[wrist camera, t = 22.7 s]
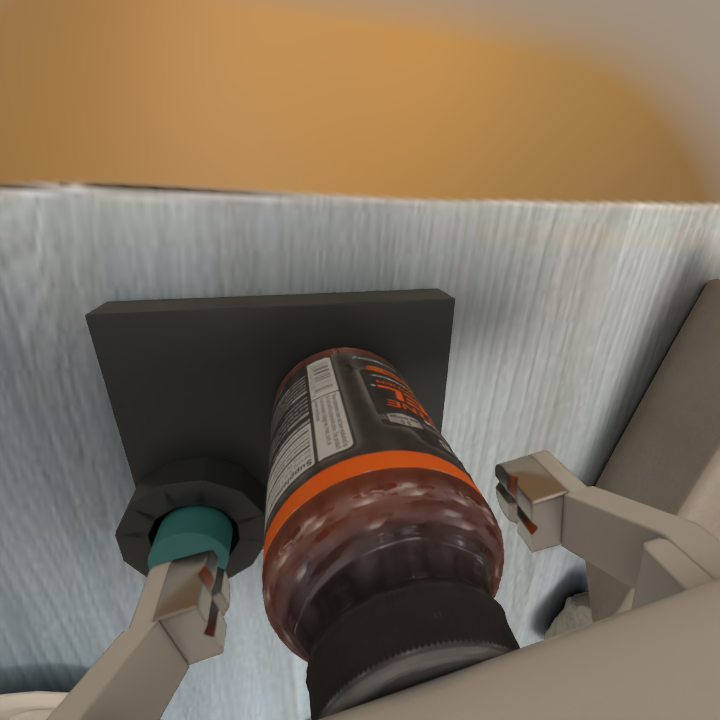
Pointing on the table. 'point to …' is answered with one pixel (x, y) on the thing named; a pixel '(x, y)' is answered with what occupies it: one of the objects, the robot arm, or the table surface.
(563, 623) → the pebble
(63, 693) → the teacup
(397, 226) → the table surface
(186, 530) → the button
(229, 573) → the black button pad
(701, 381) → the grey wedge
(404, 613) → the supplement bottle
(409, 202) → the table surface
